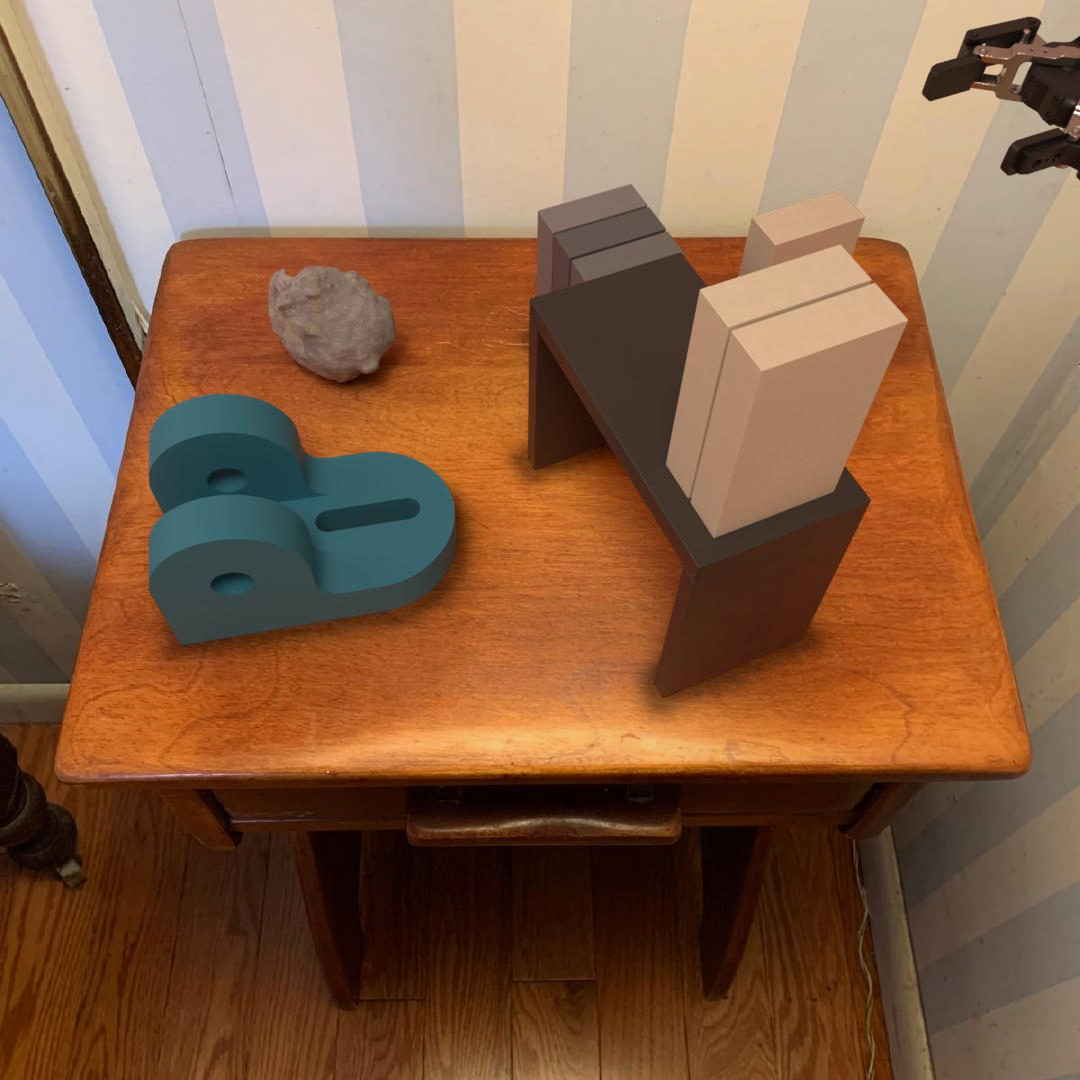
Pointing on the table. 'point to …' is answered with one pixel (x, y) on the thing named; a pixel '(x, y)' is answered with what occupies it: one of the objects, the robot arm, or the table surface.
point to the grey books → (597, 238)
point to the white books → (778, 386)
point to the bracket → (284, 524)
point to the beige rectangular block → (801, 231)
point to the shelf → (642, 448)
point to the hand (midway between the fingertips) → (967, 121)
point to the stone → (331, 321)
